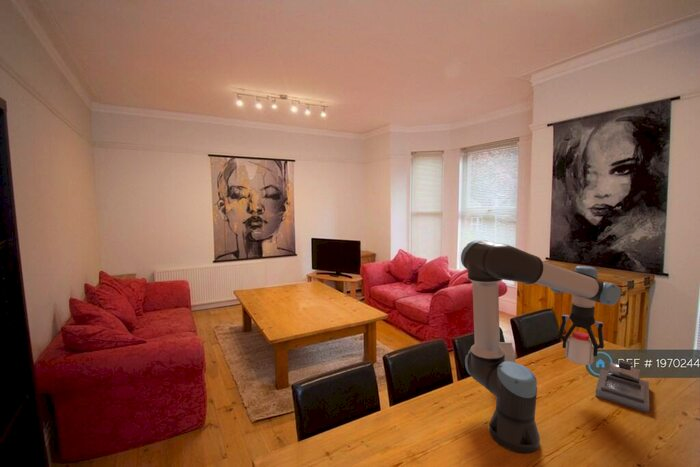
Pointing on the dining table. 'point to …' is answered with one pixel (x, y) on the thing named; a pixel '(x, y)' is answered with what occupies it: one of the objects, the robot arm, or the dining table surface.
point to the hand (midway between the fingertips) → (578, 359)
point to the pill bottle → (579, 348)
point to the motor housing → (623, 386)
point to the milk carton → (508, 351)
